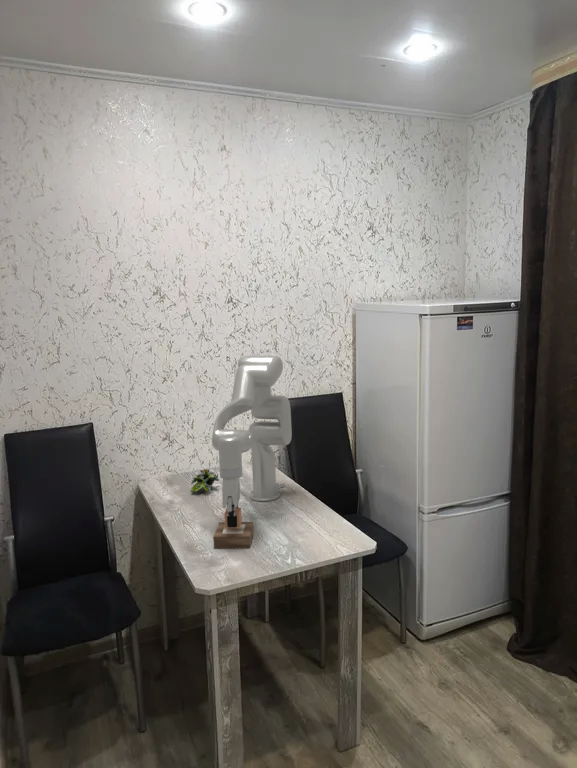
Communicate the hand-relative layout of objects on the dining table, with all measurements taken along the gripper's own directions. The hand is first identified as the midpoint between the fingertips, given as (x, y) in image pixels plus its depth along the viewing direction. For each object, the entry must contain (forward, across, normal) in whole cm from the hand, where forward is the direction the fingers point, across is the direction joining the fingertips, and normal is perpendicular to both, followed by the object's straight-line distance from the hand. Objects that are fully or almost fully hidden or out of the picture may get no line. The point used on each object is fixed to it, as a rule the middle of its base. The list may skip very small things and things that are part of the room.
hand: (233, 522), depth 190 cm
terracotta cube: (+1, 0, 0) cm, 1 cm away
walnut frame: (+6, 0, 0) cm, 6 cm away
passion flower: (+6, -48, -19) cm, 52 cm away
